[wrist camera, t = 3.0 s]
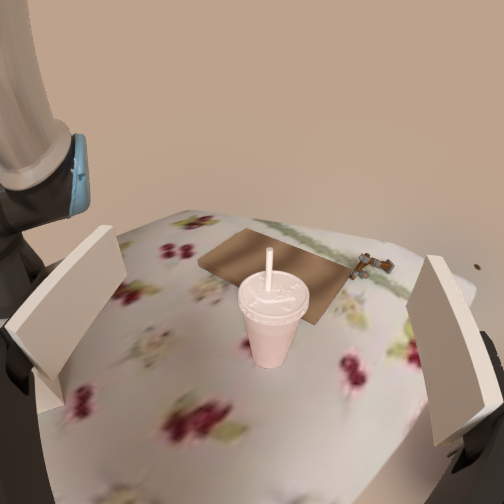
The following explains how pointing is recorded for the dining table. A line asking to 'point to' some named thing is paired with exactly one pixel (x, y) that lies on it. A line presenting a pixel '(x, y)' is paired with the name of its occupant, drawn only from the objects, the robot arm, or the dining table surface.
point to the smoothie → (272, 312)
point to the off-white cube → (47, 393)
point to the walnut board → (277, 267)
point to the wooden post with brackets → (374, 262)
